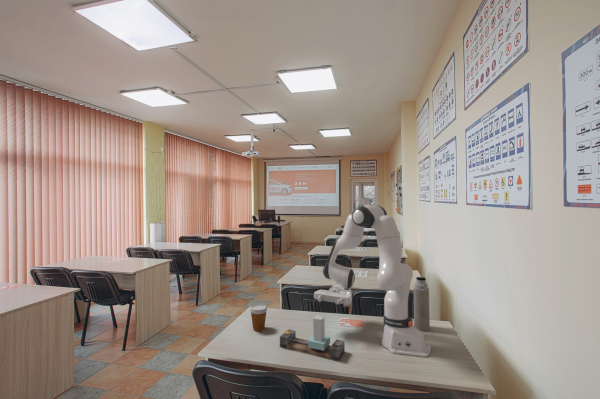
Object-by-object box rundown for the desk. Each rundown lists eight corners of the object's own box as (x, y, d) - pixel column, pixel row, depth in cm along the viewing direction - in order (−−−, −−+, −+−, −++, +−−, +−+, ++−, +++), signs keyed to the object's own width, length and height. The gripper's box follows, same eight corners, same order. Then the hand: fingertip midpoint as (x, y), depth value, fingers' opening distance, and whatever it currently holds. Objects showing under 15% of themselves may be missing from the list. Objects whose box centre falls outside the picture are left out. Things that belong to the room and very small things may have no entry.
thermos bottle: (415, 324, 165) (414, 275, 166) (430, 327, 161) (429, 276, 162) (412, 329, 158) (412, 278, 159) (428, 332, 154) (427, 280, 155)
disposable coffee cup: (262, 333, 155) (262, 311, 156) (247, 331, 158) (246, 309, 159) (270, 326, 164) (269, 305, 165) (255, 324, 167) (255, 303, 168)
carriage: (330, 343, 138) (329, 315, 138) (323, 350, 131) (323, 322, 131) (314, 339, 142) (314, 313, 142) (308, 347, 135) (307, 319, 135)
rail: (344, 351, 136) (344, 339, 136) (338, 361, 128) (338, 348, 128) (288, 338, 149) (288, 328, 149) (279, 346, 141) (279, 335, 141)
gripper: (319, 285, 165) (309, 292, 152) (354, 290, 156) (346, 298, 143) (319, 296, 165) (309, 304, 152) (354, 302, 156) (346, 310, 143)
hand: (327, 301), depth 148 cm, fingers open, 8 cm apart
